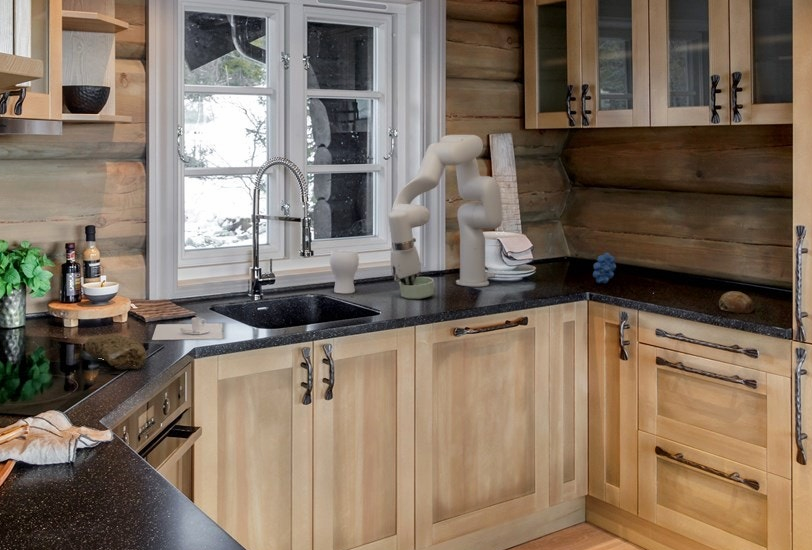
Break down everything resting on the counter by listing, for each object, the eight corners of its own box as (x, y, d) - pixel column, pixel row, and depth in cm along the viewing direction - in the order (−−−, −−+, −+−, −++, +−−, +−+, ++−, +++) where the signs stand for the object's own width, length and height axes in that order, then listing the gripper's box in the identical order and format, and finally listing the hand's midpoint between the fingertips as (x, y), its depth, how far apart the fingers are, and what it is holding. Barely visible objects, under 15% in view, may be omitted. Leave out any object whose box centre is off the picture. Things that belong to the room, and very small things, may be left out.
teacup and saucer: (179, 335, 243) (179, 321, 243) (181, 329, 251) (181, 315, 251) (210, 335, 243) (210, 321, 243) (210, 329, 251) (210, 315, 251)
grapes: (606, 280, 333) (606, 250, 333) (620, 283, 327) (620, 252, 327) (584, 283, 328) (585, 252, 328) (598, 285, 322) (598, 254, 322)
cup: (358, 289, 316) (358, 249, 316) (358, 294, 306) (358, 253, 306) (330, 289, 317) (330, 249, 317) (329, 294, 307) (329, 253, 307)
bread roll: (716, 318, 280) (708, 297, 278) (737, 303, 283) (729, 282, 281) (741, 324, 270) (734, 303, 269) (763, 309, 273) (755, 287, 272)
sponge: (152, 373, 209) (132, 339, 226) (148, 345, 207) (128, 313, 224) (100, 388, 204) (83, 353, 222) (95, 360, 202) (78, 326, 219)
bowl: (422, 288, 309) (421, 275, 309) (441, 294, 298) (440, 280, 297) (394, 295, 304) (392, 282, 304) (412, 301, 293) (410, 287, 293)
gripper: (414, 237, 305) (421, 285, 308) (379, 248, 299) (387, 297, 302) (426, 241, 298) (433, 290, 301) (391, 252, 292) (398, 302, 295)
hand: (410, 293), depth 302 cm, fingers closed
